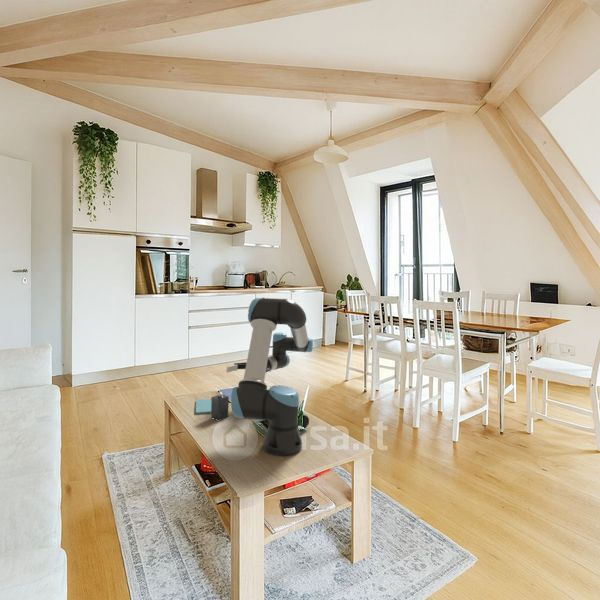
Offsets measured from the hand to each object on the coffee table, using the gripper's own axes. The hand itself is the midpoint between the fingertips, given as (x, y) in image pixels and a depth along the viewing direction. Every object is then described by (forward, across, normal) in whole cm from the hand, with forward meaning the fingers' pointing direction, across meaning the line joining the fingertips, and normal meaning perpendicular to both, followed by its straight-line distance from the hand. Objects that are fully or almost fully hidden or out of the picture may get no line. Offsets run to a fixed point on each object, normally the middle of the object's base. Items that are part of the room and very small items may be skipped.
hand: (236, 372), depth 180 cm
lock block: (+10, 0, -20) cm, 22 cm away
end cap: (-7, -33, -20) cm, 39 cm away
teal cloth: (+5, +15, -20) cm, 25 cm away
